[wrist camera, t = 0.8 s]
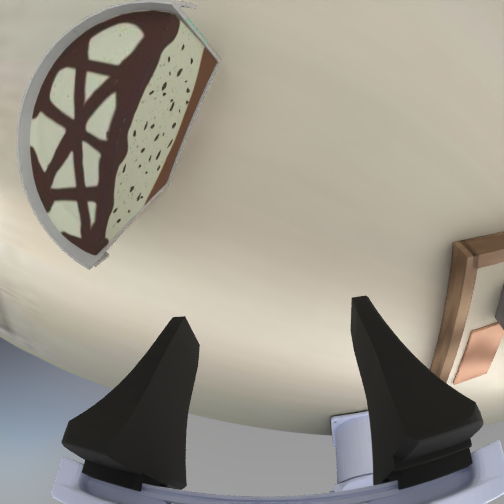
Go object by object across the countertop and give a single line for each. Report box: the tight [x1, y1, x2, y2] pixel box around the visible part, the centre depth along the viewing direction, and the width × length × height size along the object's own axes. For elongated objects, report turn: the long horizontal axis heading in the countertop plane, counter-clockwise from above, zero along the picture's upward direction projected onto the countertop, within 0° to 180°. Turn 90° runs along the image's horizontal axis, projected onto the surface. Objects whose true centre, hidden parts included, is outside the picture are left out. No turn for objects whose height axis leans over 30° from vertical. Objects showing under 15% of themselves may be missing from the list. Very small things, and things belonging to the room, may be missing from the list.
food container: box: [17, 0, 221, 270], centre depth 13 cm, size 12×6×10 cm, turn 155°
